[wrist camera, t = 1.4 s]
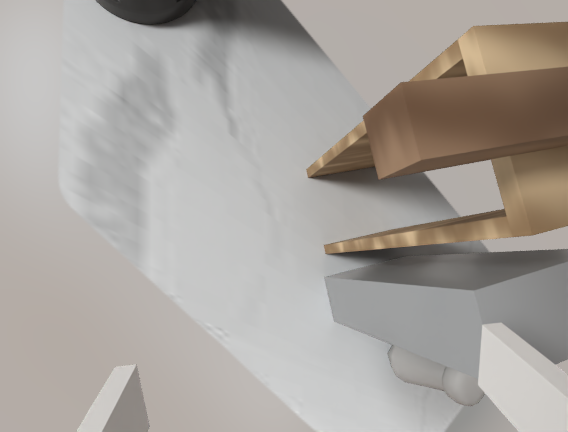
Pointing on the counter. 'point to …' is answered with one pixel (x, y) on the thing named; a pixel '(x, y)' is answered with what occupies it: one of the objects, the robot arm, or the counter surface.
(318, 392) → the counter surface
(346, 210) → the counter surface
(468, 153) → the walnut rail
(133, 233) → the counter surface
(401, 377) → the salt shaker
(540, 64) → the oak shelf
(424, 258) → the stone block
